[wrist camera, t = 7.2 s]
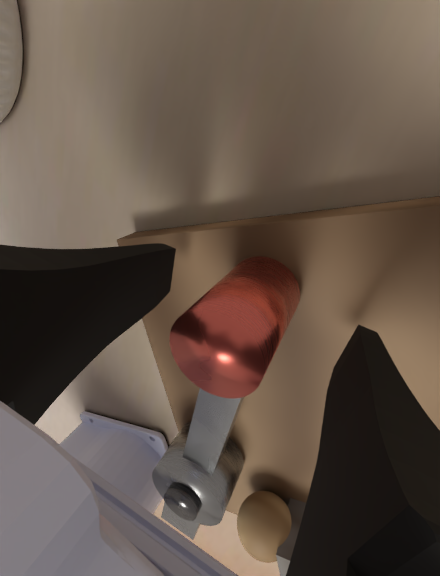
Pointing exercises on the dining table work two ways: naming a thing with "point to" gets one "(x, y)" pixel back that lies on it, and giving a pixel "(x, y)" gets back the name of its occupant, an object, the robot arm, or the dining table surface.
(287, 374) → the board
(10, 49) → the ramekin
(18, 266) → the robot arm
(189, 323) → the lever
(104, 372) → the dining table surface
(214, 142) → the dining table surface
